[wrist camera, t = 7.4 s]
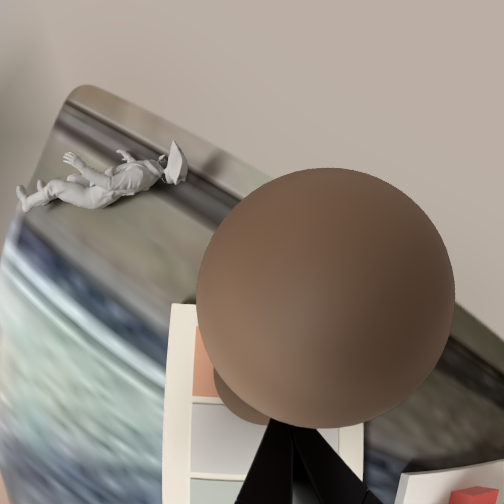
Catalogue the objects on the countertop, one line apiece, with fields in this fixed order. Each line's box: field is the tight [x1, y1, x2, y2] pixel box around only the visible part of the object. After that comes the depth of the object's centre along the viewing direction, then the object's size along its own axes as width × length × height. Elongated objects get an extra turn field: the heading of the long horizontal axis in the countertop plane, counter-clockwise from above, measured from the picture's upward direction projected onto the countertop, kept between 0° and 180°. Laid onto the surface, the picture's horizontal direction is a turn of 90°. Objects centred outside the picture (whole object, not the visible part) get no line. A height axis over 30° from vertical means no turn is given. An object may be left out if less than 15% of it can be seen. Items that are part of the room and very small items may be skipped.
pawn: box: [196, 168, 455, 429], centre depth 9 cm, size 5×5×13 cm
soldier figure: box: [17, 140, 188, 213], centre depth 19 cm, size 8×5×12 cm
